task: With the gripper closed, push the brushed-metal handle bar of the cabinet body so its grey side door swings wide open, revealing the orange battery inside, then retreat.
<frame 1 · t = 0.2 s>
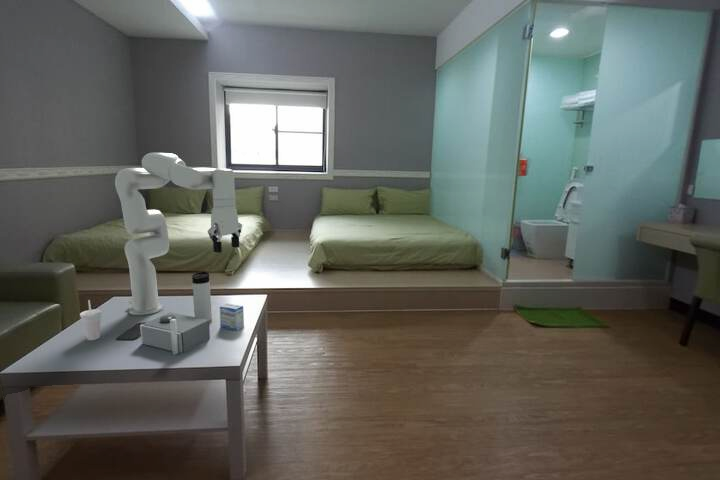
hand: (226, 249, 144), 31 cm above the table, tool pointing down, fingers open, 9 cm apart
side door: (158, 332, 130), point 6 cm above the table, hinge at 0.0°
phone: (136, 332, 146), on the table
smoothie: (93, 338, 140), on the table
cabinet body: (177, 340, 138), on the table
medicine box: (232, 327, 151), on the table
travel mug: (203, 322, 155), on the table
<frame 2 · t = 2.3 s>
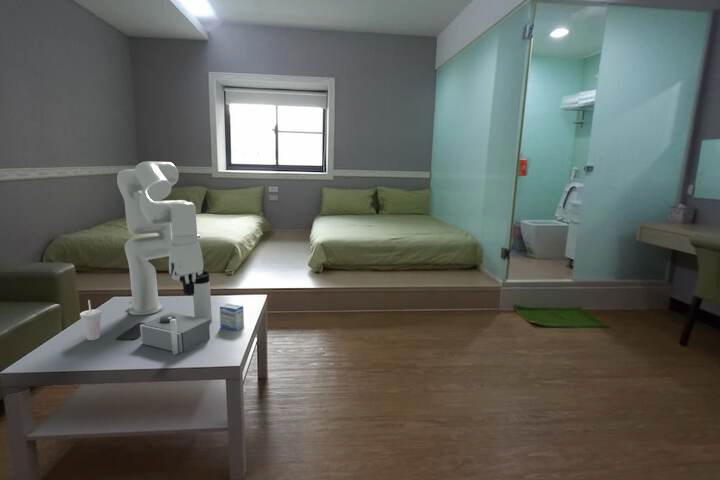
hand: (189, 293, 130), 19 cm above the table, tool pointing down, fingers closed
nothing on the table moved.
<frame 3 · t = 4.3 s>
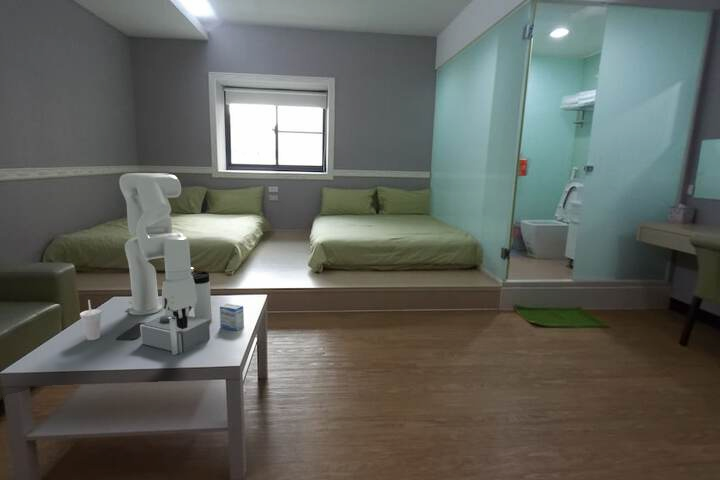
hand: (182, 327, 130), 8 cm above the table, tool pointing down, fingers closed
side door: (157, 332, 130), point 6 cm above the table, hinge at 0.5°, touching gripper
everything else where it was.
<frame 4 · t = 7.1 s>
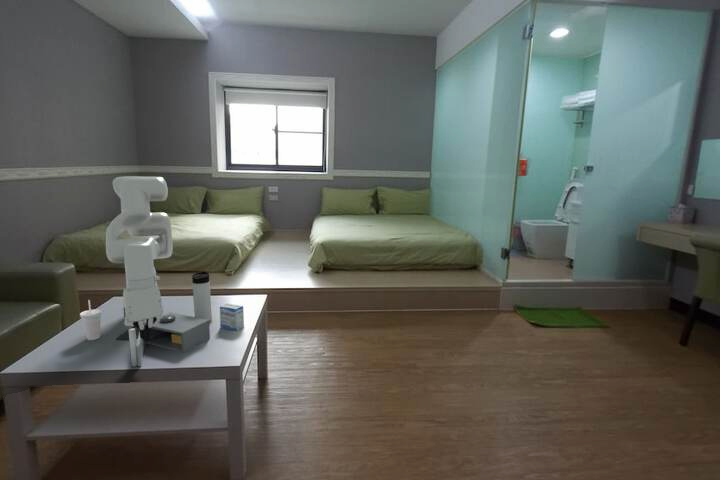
hand: (146, 339, 121), 8 cm above the table, tool pointing down, fingers closed
side door: (137, 337, 126), point 6 cm above the table, hinge at 43.3°, touching gripper
everything else where it was.
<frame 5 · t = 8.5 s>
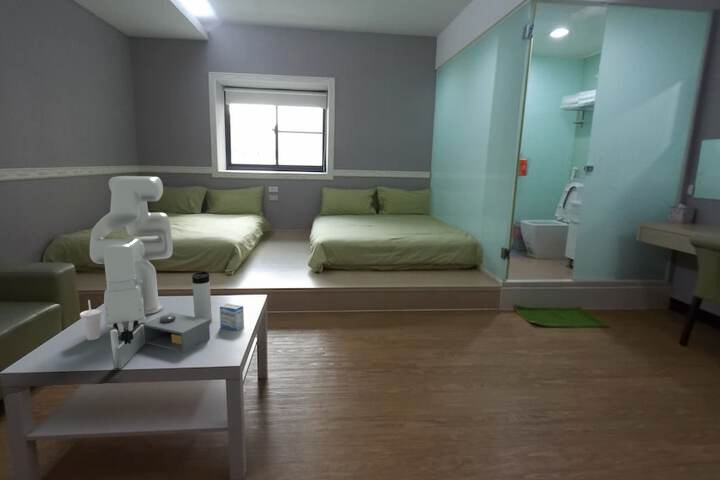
hand: (127, 342, 119), 8 cm above the table, tool pointing down, fingers closed
side door: (128, 338, 126), point 6 cm above the table, hinge at 61.3°, touching gripper
everything else where it was.
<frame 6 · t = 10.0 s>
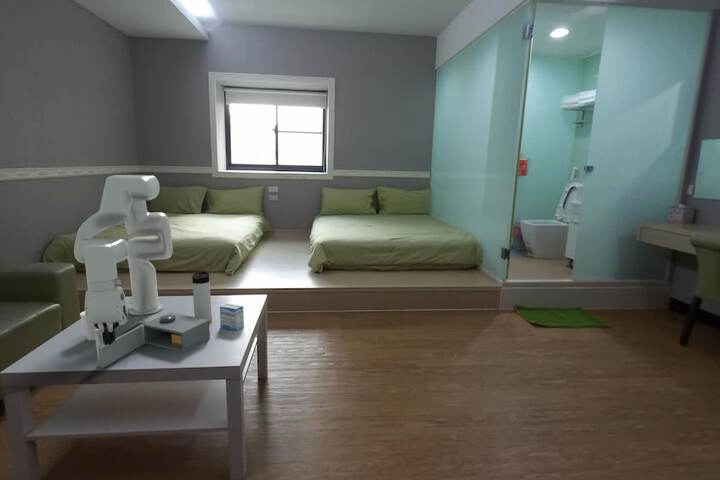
hand: (109, 342, 118), 8 cm above the table, tool pointing down, fingers closed
side door: (120, 337, 126), point 6 cm above the table, hinge at 79.6°, touching gripper
everything else where it was.
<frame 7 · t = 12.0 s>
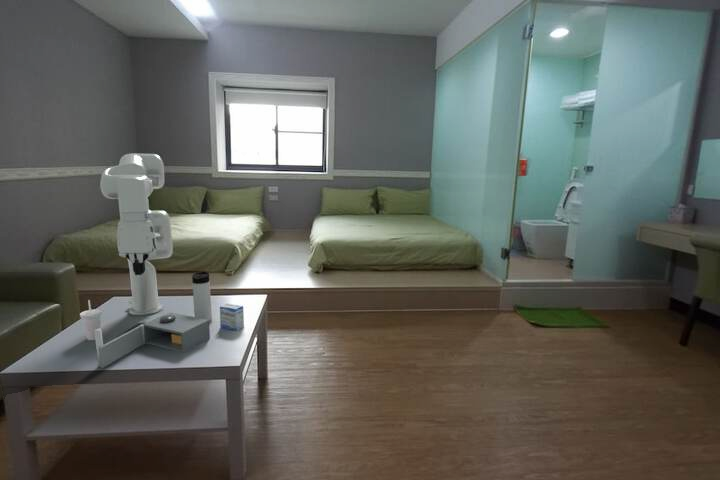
hand: (139, 273, 124), 27 cm above the table, tool pointing down, fingers closed
side door: (120, 337, 126), point 6 cm above the table, hinge at 79.7°
everything else where it was.
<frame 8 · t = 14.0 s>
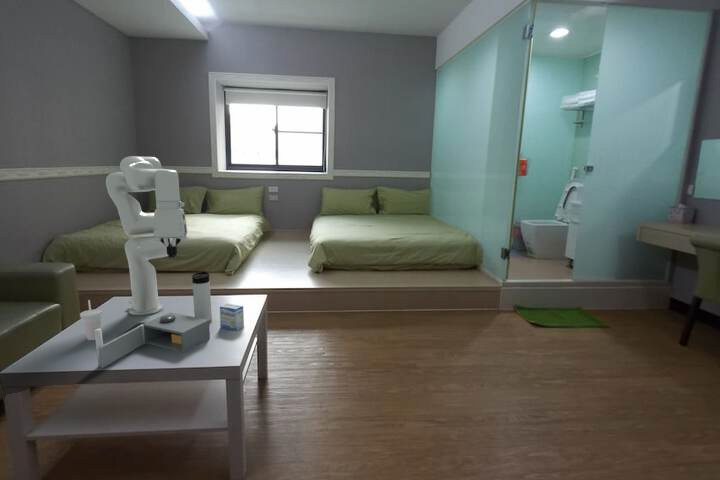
hand: (172, 256, 139), 29 cm above the table, tool pointing down, fingers closed
nothing on the table moved.
at the end: side door at +80° (first picture: +0°) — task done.
